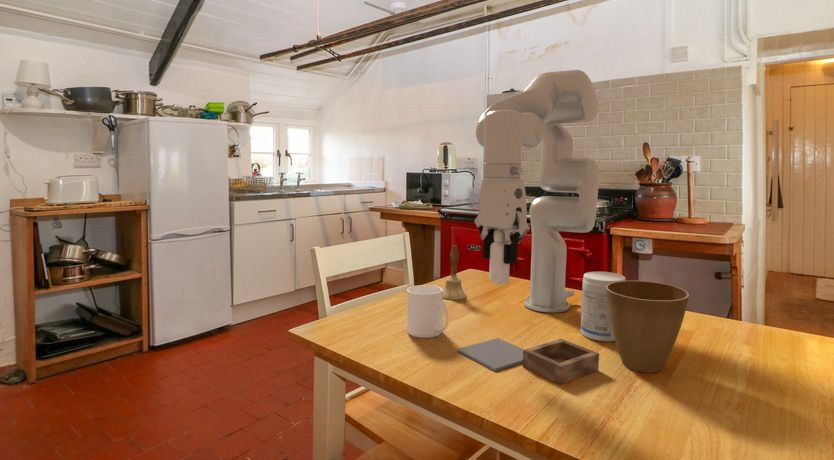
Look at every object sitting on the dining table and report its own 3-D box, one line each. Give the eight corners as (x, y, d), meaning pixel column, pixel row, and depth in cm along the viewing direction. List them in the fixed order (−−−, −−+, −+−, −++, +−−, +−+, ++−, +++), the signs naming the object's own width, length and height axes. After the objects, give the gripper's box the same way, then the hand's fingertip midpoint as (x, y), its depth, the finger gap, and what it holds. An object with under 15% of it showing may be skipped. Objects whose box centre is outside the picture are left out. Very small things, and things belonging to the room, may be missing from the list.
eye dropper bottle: (510, 279, 102) (512, 223, 100) (508, 285, 96) (510, 227, 95) (489, 277, 103) (491, 223, 101) (486, 284, 98) (488, 226, 96)
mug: (434, 345, 107) (434, 299, 105) (399, 331, 116) (399, 289, 114) (460, 336, 113) (460, 292, 111) (425, 324, 121) (425, 283, 120)
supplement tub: (603, 326, 120) (606, 269, 118) (632, 340, 111) (636, 278, 109) (571, 331, 116) (574, 272, 114) (598, 345, 108) (602, 282, 105)
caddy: (560, 354, 102) (561, 338, 102) (598, 370, 94) (599, 353, 94) (522, 366, 96) (523, 350, 96) (559, 384, 88) (560, 366, 88)
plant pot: (614, 345, 107) (618, 276, 105) (689, 363, 98) (695, 287, 96) (591, 367, 96) (595, 290, 94) (673, 389, 86) (680, 304, 84)
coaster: (498, 340, 110) (498, 337, 110) (537, 358, 100) (537, 355, 100) (457, 351, 104) (457, 348, 103) (495, 371, 94) (495, 368, 94)
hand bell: (464, 292, 151) (465, 243, 149) (468, 300, 143) (469, 247, 141) (438, 292, 151) (438, 243, 148) (441, 300, 142) (441, 247, 140)
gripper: (547, 173, 91) (543, 265, 94) (487, 172, 106) (485, 252, 108) (519, 174, 87) (516, 270, 90) (460, 172, 102) (459, 255, 104)
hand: (499, 259), depth 99 cm, fingers closed on eye dropper bottle, 5 cm apart
